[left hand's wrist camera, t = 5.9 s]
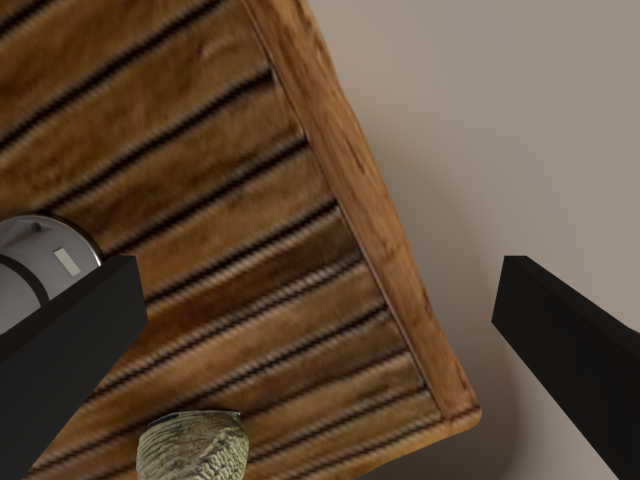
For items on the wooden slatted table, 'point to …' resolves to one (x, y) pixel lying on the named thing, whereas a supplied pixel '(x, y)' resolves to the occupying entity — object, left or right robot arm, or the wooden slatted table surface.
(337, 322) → the wooden slatted table surface
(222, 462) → the fossil
